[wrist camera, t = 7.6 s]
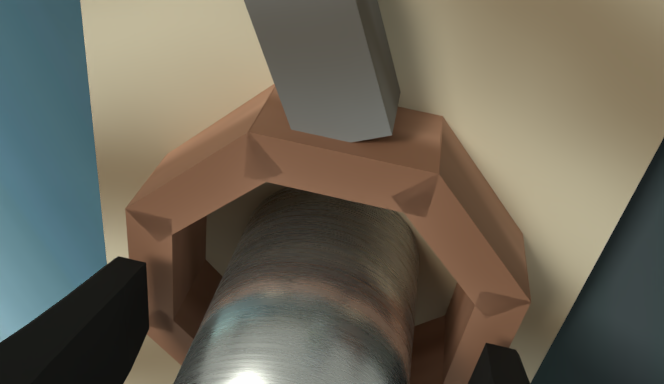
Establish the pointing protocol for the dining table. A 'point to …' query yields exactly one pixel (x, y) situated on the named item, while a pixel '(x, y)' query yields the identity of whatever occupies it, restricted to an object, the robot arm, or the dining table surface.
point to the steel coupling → (312, 298)
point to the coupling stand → (377, 148)
